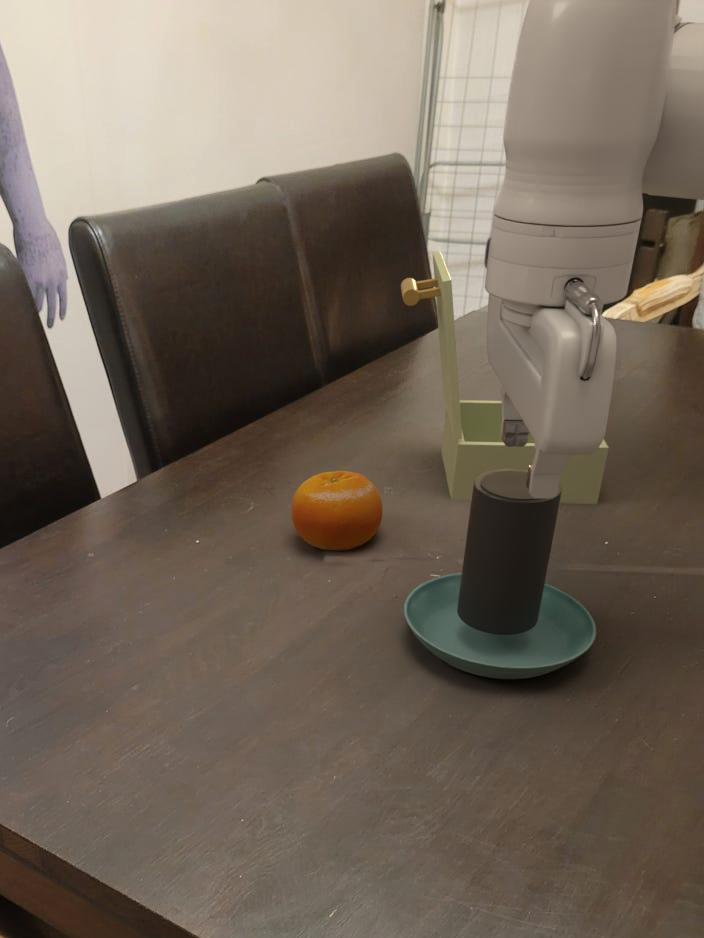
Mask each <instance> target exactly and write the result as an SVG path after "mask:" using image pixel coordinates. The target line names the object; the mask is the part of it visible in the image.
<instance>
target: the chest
mask: <svg viewBox="0 0 704 938" xmlns="http://www.w3.org/2000/svg"><path fill="white" fill-rule="evenodd" d="M460 414H461V429H462V439H457V440H454V437H453V433H452V429H451V425H450V421H449V417H448V412H447V408H446V407H445V412H444V421H443V423H444V424H443V432H442V441H441V449H440V450H441V451H440V453H441V457H442V462H443V467H444V472H445V475H446V477H445V478H446V482H447V487H448V492H449V496H450V500H451V501H471V500H472V493H473V485H474V480H475V479H476V477H477V476H479V475H480V474H482V473H485V472H488V471H492V470H500V469H519V470H527V471H528V468H529V466H532V464H533V460H534V457H535V453H536V450H535V448H534V445H535V440H534V438H533V437H532V435H531V433H530V432H529V434H528V442H527V444H526V445H524V446H523V447H516V446H513V447H508V446H506V445H505V444H504V442H503V440H502V439H501V436H500V432H501V425H502V401H501V400H476V399H475V400H473V399H471V400H469V399H460ZM609 450H610V447H609V445H608V444H607V442H606V440H605V439H604V438H603V441H602V443H601V444H600V446H599V448H598V449H597V450H596V452H594V453H591V454H572V456H571V458H570V460H569V461H568V463H567V465H566V467H565V469H564V470H563V472H562V474H561V476H560V481H559V484H560V486H561V488H562V492H561V498H560V503H559V504H577V505H579V504H581V505H598V502H599V497H600V492H601V489H602V488H601V487H602V483H603V478H604V472H605V469H606V463H607V459H608V454H609Z"/></svg>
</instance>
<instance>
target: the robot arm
mask: <svg viewBox="0 0 704 938" xmlns="http://www.w3.org/2000/svg"><path fill="white" fill-rule="evenodd" d="M677 6H678V0H529V1H528V4H527V8H526V11H525V14H524V18H523V21H522V26H521V29H520V33H519V37H518V40H517V41H518V42H517V47H516V51H515V56H514V62H513V67H512V71H511V77H510V83H509V90H508V96H507V102H506V107H505V108H506V110H505V117H504V126H503V133H502V137H503V147H504V155H505V170H504V177H503V181H502V185H501V188H500V190H499V192H498V195H497V198H496V200H495V205H494V208H493V215H492V222H491V223H492V224H491V231H490V235H489V236H488V238H487V239H486V243H485V249H484V260H483V264H484V268H485V269H486V271H485V272H486V273H485V280H484V289H485V291H486V292H487V293H488V299H487V300H488V302H487V318H486V319H487V320H486V354H487V362H488V365H489V367H490V368H491V370H492V371H493V374H495V376H496V377H497V379H498V380H499V383H500V384H501V388H500V398H501V400H500V401H502V425H501V432H500V436H501V439H502V440H503V442H504V444H505V445H506V446H508V447H513V446H516V447H523V446H524V445H526V444H527V442H528V434H529V432H530V433H531V435H532V437H533V438H534V440H535V445H534V448H535V450H536V453H535V457H534V460H533V464H532V466H529V468H528V474H527V481H526V486H527V489H528V491H529V493H530V495H531V497H533V498H535V499H550V498H553V497H555V496H556V494H557V492H558V486H559V481H560V476H561V474H562V472H563V470H564V469H565V467H566V465H567V463H568V461H569V460H570V458H571V456H572V454H591V453H594V452H596V450H597V449H598V448H599V446H600V444H601V443H602V441H603V439H604V438H605V435H606V433H607V426H608V420H609V413H610V407H611V400H612V393H613V388H614V387H613V386H614V379H615V373H616V365H617V352H618V351H617V350H618V349H617V348H618V347H617V346H618V345H617V343H618V342H617V334H616V330H615V328H614V327H613V324H612V323H611V322H610V321H609V320H607V319H606V318H605V317H604V316H603V308H604V306H605V305H608V304H614V303H616V302H620V301H621V300H622V299H624V298H625V297H626V296H627V295H628V290H629V284H630V279H631V275H632V269H633V264H634V259H635V253H636V248H637V244H638V239H639V233H640V228H641V223H642V218H643V213H644V200H643V199H644V198H643V194H647V195H649V196H658V197H665V198H666V197H668V198H679V199H688V200H699V201H704V22H693V21H692V22H691V21H686V22H685V21H684V22H682V21H683V18H682V17H681V16H680V15H678V14H677Z"/></svg>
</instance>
